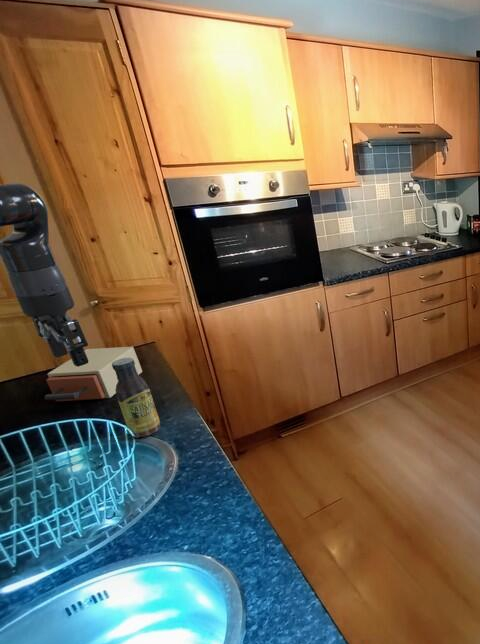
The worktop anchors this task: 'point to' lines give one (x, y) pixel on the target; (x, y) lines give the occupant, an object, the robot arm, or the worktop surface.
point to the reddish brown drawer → (75, 388)
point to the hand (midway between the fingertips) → (71, 360)
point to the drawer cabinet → (99, 366)
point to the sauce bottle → (135, 399)
